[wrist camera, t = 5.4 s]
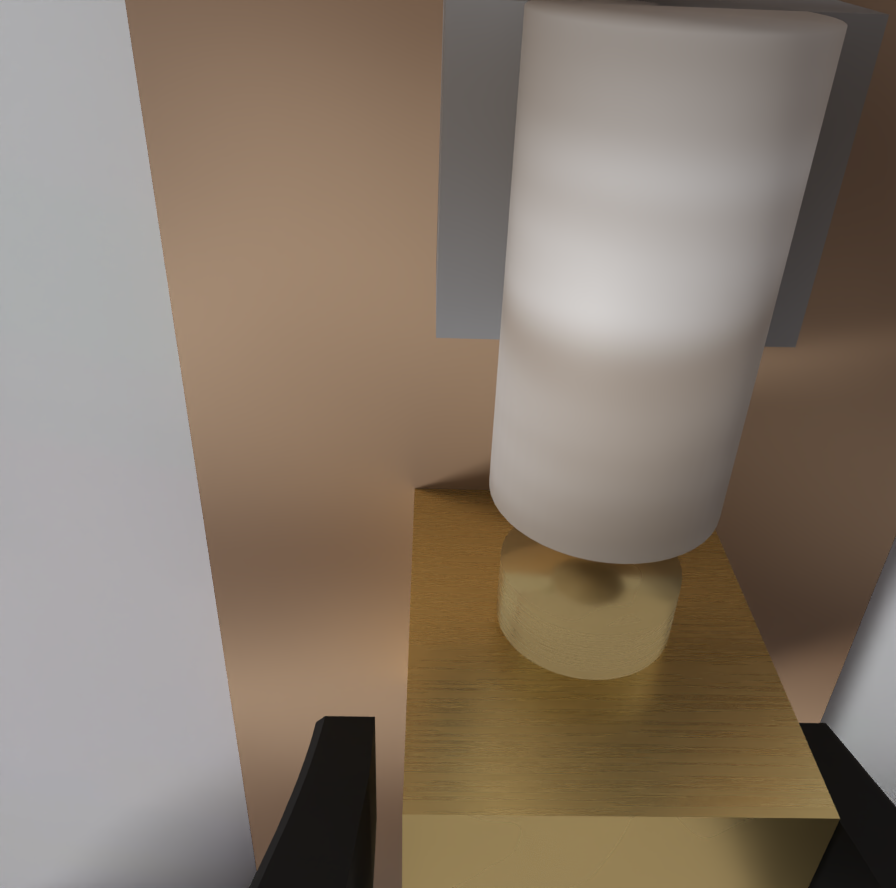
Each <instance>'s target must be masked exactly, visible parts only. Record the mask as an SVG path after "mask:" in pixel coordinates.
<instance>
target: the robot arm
mask: <svg viewBox="0 0 896 888" xmlns="http://www.w3.org/2000/svg"><path fill="white" fill-rule="evenodd" d="M799 724H800V727H801V729H802V731H803V734H804V736H805V738H806V741H807V743H808V745H809V748H810V750H811V752H812V755H813V757H814V759H815V761H816V764H817V766H818V768H819V771H820V773H821V775H822V778H823V780H824V782H825V785H826V787H827V789H828V792H829V794H830V796H831V798H832V801H833V803H834V805H835V808H836V810H837V812H838V815H839V817H840V820H839V822H838V824H837V826H836V829H835V831H834V833H833V835H832V837H831V839H830V842H829V844H828V846H827V848H826V850H825V852H824V854H823V857H822V859H821V861H820V863H819V865H818V867H817V869H816V872H815V874H814V876H813V878H812V880H811V882H810V885H809V887H808V888H896V806H895V805H894V804H893V803H892V802H891V800H890V799H889V798H888V797H887V796H886V794H885V793H884V792H883V791H882V790H881V789H880V787H879V786H878V785H877V784H876V783H875V781H874V780H873V779H872V778H871V777H870V775H869V774H868V773H867V772H866V771H865V769H864V768H863V767H862V766H861V765H860V763H859V762H858V761H857V760H856V759H855V757H854V756H853V755H852V754H851V753H850V751H849V750H848V749H847V748H846V747H845V745H844V744H843V743H842V742H841V741H840V739H839V738H838V737H837V736H836V735H835V733H834V732H833V731H832V730H831V729H830V728H829V727H828V726H827V724H826V723H799ZM376 825H377V800H376V742H375V717H363V716H324V717H323V718H321V719H320V720H318V721H317V722H316V724H315V728H314V731H313V735H312V738H311V742H310V745H309V748H308V751H307V754H306V757H305V760H304V763H303V766H302V768H301V771H300V774H299V776H298V779H297V782H296V784H295V787H294V789H293V792H292V794H291V797H290V799H289V801H288V804H287V806H286V808H285V811H284V813H283V816H282V818H281V820H280V823H279V825H278V827H277V830H276V832H275V834H274V836H273V838H272V840H271V842H270V845H269V847H268V849H267V851H266V853H265V855H264V857H263V859H262V862H261V864H260V866H259V868H258V870H257V872H256V874H255V876H254V879H253V881H252V883H251V885H250V887H249V888H373V883H374V864H375V845H376Z"/></svg>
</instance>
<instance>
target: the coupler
mask: <svg viewBox="0 0 896 888" xmlns="http://www.w3.org/2000/svg"><path fill="white" fill-rule="evenodd" d="M839 820H840V817H839V815H838V812H837V810H836V808H835V805H834V803H833V801H832V798H831V796H830V794H829V792H828V789H827V787H826V785H825V782H824V780H823V778H822V775H821V773H820V771H819V768H818V766H817V764H816V761H815V759H814V757H813V755H812V752H811V750H810V748H809V745H808V743H807V741H806V738H805V736H804V734H803V731H802V729H801V727H800V724H799V722H798V720H797V718H796V715H795V713H794V711H793V708H792V706H791V704H790V701H789V699H788V697H787V694H786V692H785V690H784V687H783V685H782V683H781V681H780V678H779V676H778V674H777V671H776V669H775V667H774V664H773V662H772V660H771V657H770V655H769V653H768V650H767V648H766V646H765V644H764V641H763V639H762V637H761V634H760V632H759V630H758V627H757V625H756V623H755V620H754V618H753V616H752V613H751V611H750V609H749V607H748V604H747V602H746V600H745V597H744V595H743V593H742V590H741V588H740V586H739V583H738V581H737V579H736V576H735V574H734V572H733V570H732V567H731V565H730V563H729V560H728V558H727V556H726V553H725V551H724V549H723V546H722V544H721V542H720V539H719V537H718V535H717V533H716V530H714V532H713V533H712V535H711V536H710V537H709V538H708V539H707V540H706V541H705V542H703V543H702V544H701V545H699V546H698V547H696V548H695V549H693V550H691V551H689V552H687V553H685V554H682V555H680V556H677V557H674V558H671V559H666V560H662V561H657V562H650V563H641V564H616V563H604V562H597V561H591V560H586V559H582V558H578V557H573V556H570V555H567V554H564V553H561V552H558V551H556V550H553V549H551V548H548V547H546V546H544V545H542V544H540V543H538V542H536V541H534V540H532V539H531V538H529V537H528V536H526V535H525V534H523V533H522V532H520V531H519V530H517V529H516V528H515V527H514V526H513V525H512V524H510V523H509V522H508V521H507V520H506V518H505V517H504V516H503V515H502V514H501V513H500V511H499V510H498V508H497V507H496V505H495V503H494V501H493V498H492V496H491V492H490V490H457V489H415V492H414V518H413V545H412V572H411V598H410V625H409V651H408V678H407V705H406V731H405V758H404V785H403V811H402V888H808V887H809V885H810V882H811V880H812V878H813V876H814V874H815V872H816V869H817V867H818V865H819V863H820V861H821V859H822V857H823V854H824V852H825V850H826V848H827V846H828V844H829V842H830V839H831V837H832V835H833V833H834V831H835V829H836V826H837V824H838V822H839Z"/></svg>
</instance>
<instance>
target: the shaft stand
mask: <svg viewBox="0 0 896 888" xmlns="http://www.w3.org/2000/svg"><path fill="white" fill-rule="evenodd" d="M125 4H126V10H127V17H128V23H129V30H130V37H131V43H132V50H133V56H134V63H135V70H136V76H137V83H138V90H139V96H140V103H141V109H142V116H143V123H144V129H145V136H146V142H147V149H148V156H149V162H150V169H151V175H152V182H153V189H154V195H155V202H156V209H157V215H158V222H159V228H160V235H161V242H162V248H163V255H164V261H165V268H166V275H167V281H168V288H169V294H170V301H171V308H172V314H173V321H174V328H175V334H176V341H177V347H178V354H179V361H180V367H181V374H182V380H183V387H184V394H185V400H186V407H187V413H188V420H189V427H190V433H191V440H192V447H193V453H194V460H195V466H196V473H197V480H198V486H199V493H200V499H201V506H202V513H203V519H204V526H205V532H206V539H207V546H208V552H209V559H210V566H211V572H212V579H213V585H214V592H215V599H216V605H217V612H218V618H219V625H220V632H221V638H222V645H223V651H224V658H225V665H226V671H227V678H228V685H229V691H230V698H231V704H232V711H233V718H234V724H235V731H236V737H237V744H238V751H239V757H240V764H241V770H242V777H243V784H244V790H245V797H246V804H247V810H248V817H249V823H250V830H251V837H252V843H253V850H254V856H255V863H256V870H258V868H259V866H260V864H261V862H262V859H263V857H264V855H265V853H266V851H267V849H268V847H269V845H270V842H271V840H272V838H273V836H274V834H275V832H276V830H277V827H278V825H279V823H280V820H281V818H282V816H283V813H284V811H285V808H286V806H287V804H288V801H289V799H290V797H291V794H292V792H293V789H294V787H295V784H296V782H297V779H298V776H299V774H300V771H301V768H302V766H303V763H304V760H305V757H306V754H307V751H308V748H309V745H310V742H311V738H312V735H313V731H314V728H315V724H316V722H317V721H318V720H320V719H321V718H323V717H324V716H363V717H375V742H376V800H377V825H376V845H375V864H374V883H373V888H402V811H403V785H404V758H405V731H406V705H407V678H408V651H409V625H410V598H411V572H412V545H413V518H414V492H415V489H457V490H490V492H491V496H492V498H493V501H494V503H495V505H496V507H497V508H498V510H499V511H500V513H501V514H502V515H503V516H504V517H505V518H506V520H507V521H508V522H509V523H510V524H512V525H513V526H514V527H515V528H516V529H517V530H519V531H520V532H522V533H523V534H525V535H526V536H528V537H529V538H531V539H532V540H534V541H536V542H538V543H540V544H542V545H544V546H546V547H548V548H551V549H553V550H556V551H558V552H561V553H564V554H567V555H570V556H573V557H578V558H582V559H586V560H591V561H597V562H604V563H616V564H641V563H650V562H657V561H662V560H666V559H671V558H674V557H677V556H680V555H682V554H685V553H687V552H689V551H691V550H693V549H695V548H696V547H698V546H699V545H701V544H702V543H703V542H705V541H706V540H707V539H708V538H709V537H710V536H711V535H712V533H713V532H714V530H716V533H717V535H718V537H719V539H720V542H721V544H722V546H723V549H724V551H725V553H726V556H727V558H728V560H729V563H730V565H731V567H732V570H733V572H734V574H735V576H736V579H737V581H738V583H739V586H740V588H741V590H742V593H743V595H744V597H745V600H746V602H747V604H748V607H749V609H750V611H751V613H752V616H753V618H754V620H755V623H756V625H757V627H758V630H759V632H760V634H761V637H762V639H763V641H764V644H765V646H766V648H767V650H768V653H769V655H770V657H771V660H772V662H773V664H774V667H775V669H776V671H777V674H778V676H779V678H780V681H781V683H782V685H783V687H784V690H785V692H786V694H787V697H788V699H789V701H790V704H791V706H792V708H793V711H794V713H795V715H796V718H797V720H798V722H799V723H820V721H821V719H822V717H823V714H824V712H825V709H826V707H827V704H828V702H829V699H830V697H831V694H832V692H833V689H834V687H835V684H836V682H837V680H838V677H839V675H840V672H841V670H842V667H843V665H844V662H845V660H846V657H847V655H848V652H849V650H850V648H851V645H852V643H853V640H854V638H855V635H856V633H857V630H858V628H859V625H860V623H861V620H862V618H863V615H864V613H865V611H866V608H867V606H868V603H869V601H870V598H871V596H872V593H873V591H874V588H875V586H876V583H877V581H878V578H879V576H880V574H881V571H882V569H883V566H884V564H885V561H886V559H887V556H888V554H889V551H890V549H891V546H892V544H893V541H894V539H895V537H896V0H125Z"/></svg>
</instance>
